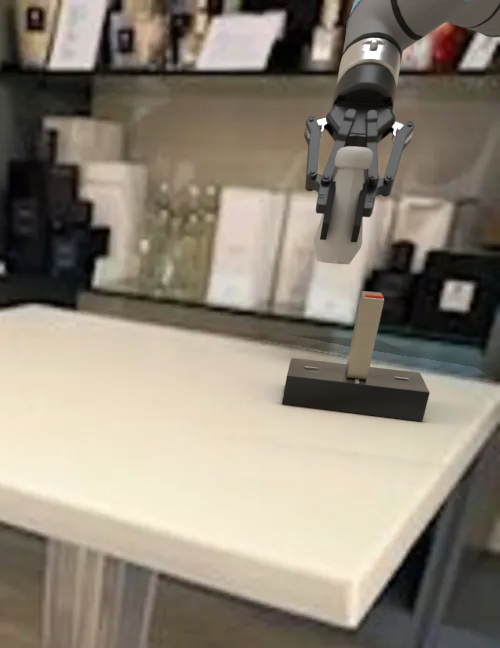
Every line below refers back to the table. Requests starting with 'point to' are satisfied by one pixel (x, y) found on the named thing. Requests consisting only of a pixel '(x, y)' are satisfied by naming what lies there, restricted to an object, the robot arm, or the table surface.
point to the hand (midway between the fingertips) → (339, 232)
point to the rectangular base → (356, 390)
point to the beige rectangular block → (364, 335)
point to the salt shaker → (344, 207)
